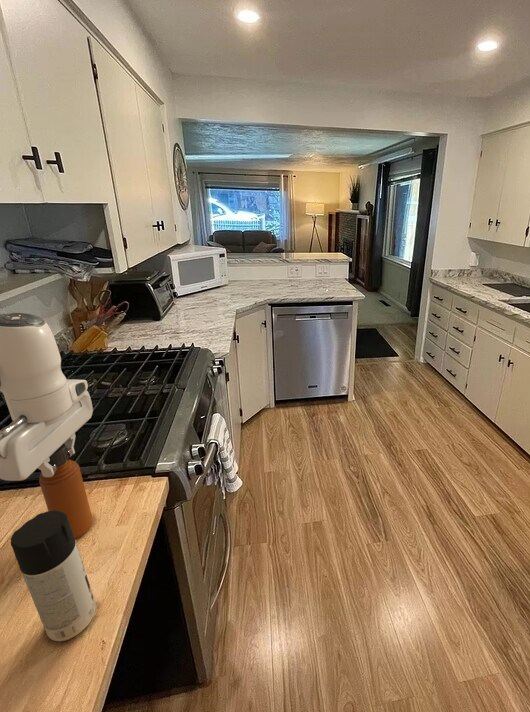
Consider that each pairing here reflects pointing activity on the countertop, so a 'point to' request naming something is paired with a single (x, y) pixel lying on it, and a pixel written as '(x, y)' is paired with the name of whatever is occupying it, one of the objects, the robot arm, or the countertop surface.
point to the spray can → (54, 574)
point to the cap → (59, 456)
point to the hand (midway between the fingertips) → (60, 465)
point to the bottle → (68, 496)
